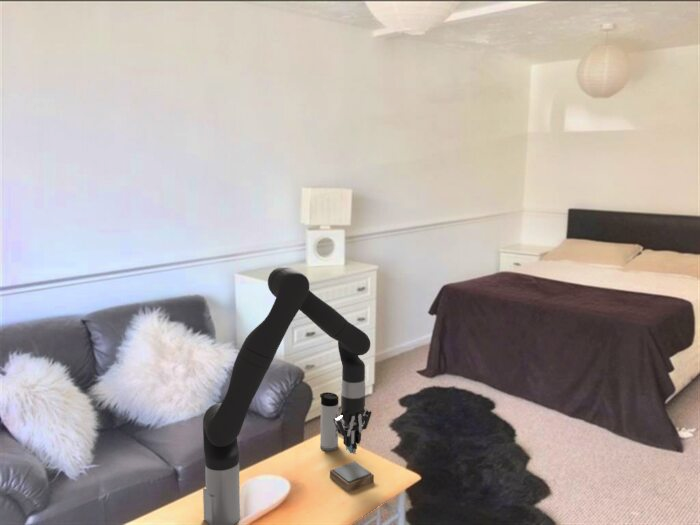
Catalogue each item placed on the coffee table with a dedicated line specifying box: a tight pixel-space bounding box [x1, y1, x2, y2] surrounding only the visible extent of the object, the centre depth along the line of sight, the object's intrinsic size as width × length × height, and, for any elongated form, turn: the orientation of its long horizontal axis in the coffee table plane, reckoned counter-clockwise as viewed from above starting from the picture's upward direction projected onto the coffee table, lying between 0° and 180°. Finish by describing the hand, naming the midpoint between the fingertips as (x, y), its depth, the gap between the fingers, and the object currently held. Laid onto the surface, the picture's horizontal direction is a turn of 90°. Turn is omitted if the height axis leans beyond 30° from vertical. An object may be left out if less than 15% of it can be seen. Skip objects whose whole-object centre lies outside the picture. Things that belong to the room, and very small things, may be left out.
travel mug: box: [319, 392, 340, 452], centre depth 200 cm, size 6×7×20 cm
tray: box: [329, 461, 375, 493], centre depth 180 cm, size 10×10×3 cm
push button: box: [342, 422, 359, 455], centre depth 177 cm, size 7×5×10 cm
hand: (352, 444), depth 178 cm, fingers closed on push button, 3 cm apart
